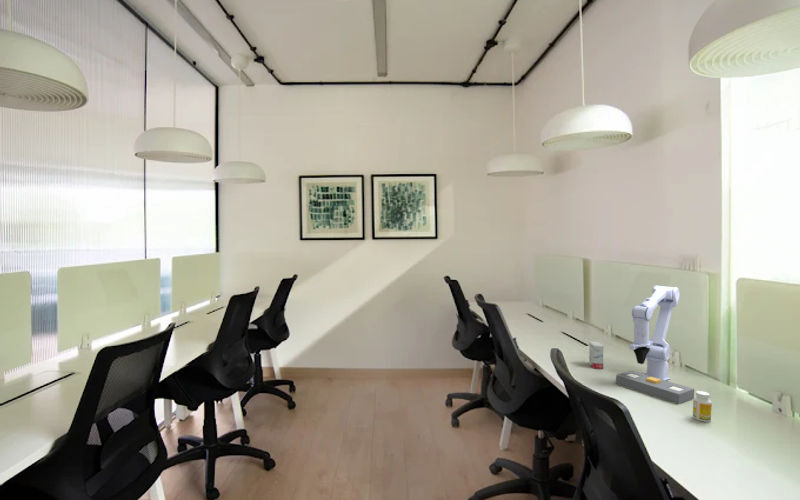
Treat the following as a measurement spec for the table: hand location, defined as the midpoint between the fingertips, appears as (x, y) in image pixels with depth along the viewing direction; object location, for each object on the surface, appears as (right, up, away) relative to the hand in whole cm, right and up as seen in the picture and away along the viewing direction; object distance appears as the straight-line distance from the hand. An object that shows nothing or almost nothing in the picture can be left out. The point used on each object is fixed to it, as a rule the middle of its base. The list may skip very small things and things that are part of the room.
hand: (640, 363), depth 183 cm
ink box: (-7, -9, +27) cm, 29 cm away
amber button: (+2, -8, -6) cm, 11 cm away
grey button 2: (+6, -10, -14) cm, 18 cm away
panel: (+2, -10, -6) cm, 12 cm away
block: (-3, -9, +2) cm, 10 cm away
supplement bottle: (+3, -11, -33) cm, 35 cm away
